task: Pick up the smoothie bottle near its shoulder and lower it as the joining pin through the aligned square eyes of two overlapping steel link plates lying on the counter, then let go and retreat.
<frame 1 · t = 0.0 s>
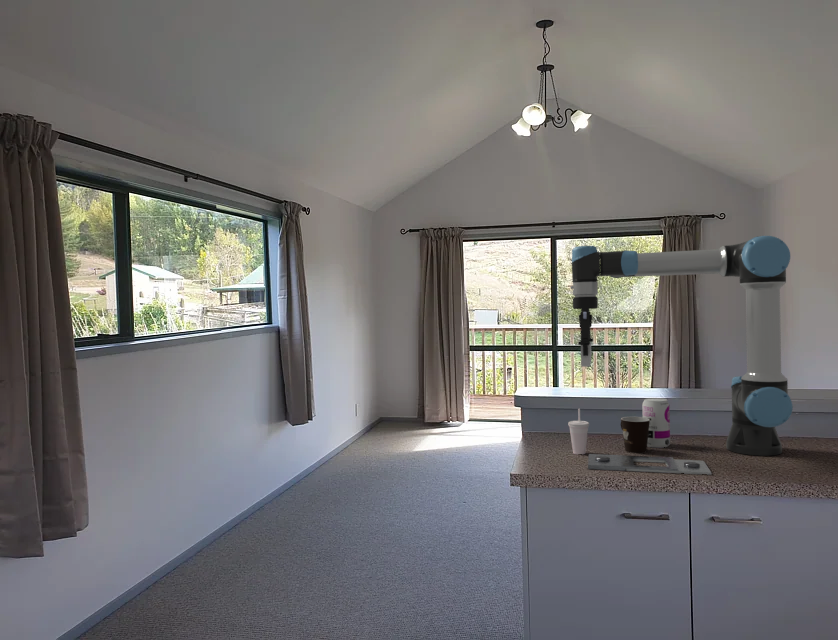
hand: (586, 364, 190), 28 cm above the counter, tool pointing down, fingers open, 13 cm apart
link plate 2: (650, 466, 174), resting in link plate 1
coffee mug: (635, 450, 194), on the counter
supplement can: (656, 446, 199), on the counter
smoothie: (579, 453, 191), on the counter
link plate 1: (650, 466, 174), on the counter
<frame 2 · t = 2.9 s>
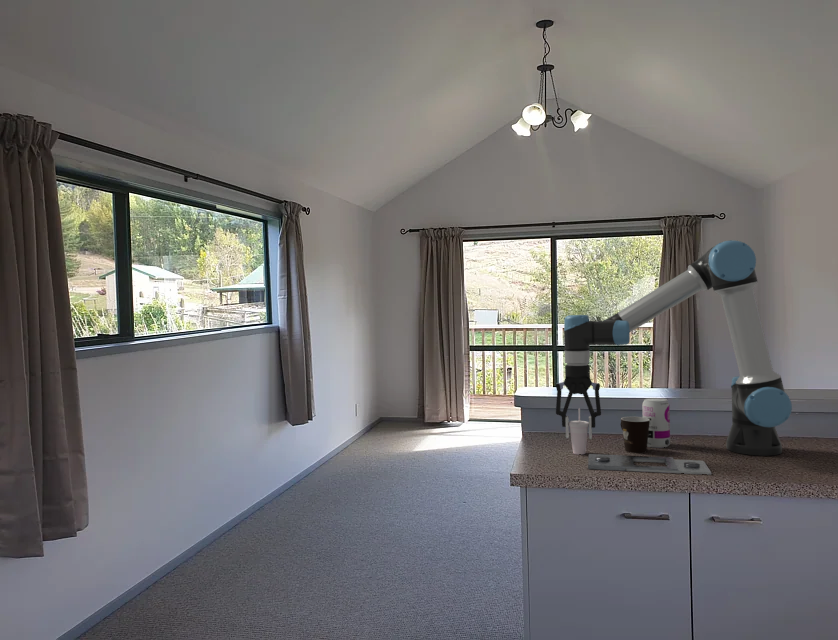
hand: (578, 437, 191), 5 cm above the counter, tool pointing down, fingers closed on smoothie, 6 cm apart
smoothie: (579, 453, 191), on the counter, touching gripper
everything else where it was.
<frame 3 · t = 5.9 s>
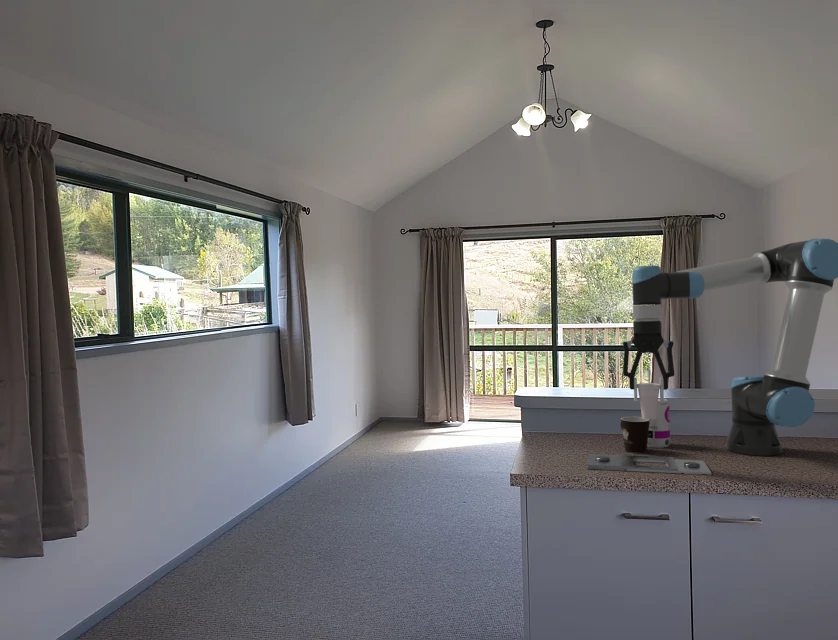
hand: (648, 400, 174), 19 cm above the counter, tool pointing down, fingers closed on smoothie, 6 cm apart
smoothie: (649, 418, 174), point 14 cm above the counter, touching gripper
everything else where it was.
when the fingers open (7 cm above the counter, at t = 8.7 s): smoothie drops 2 cm, resting in link plate 2.
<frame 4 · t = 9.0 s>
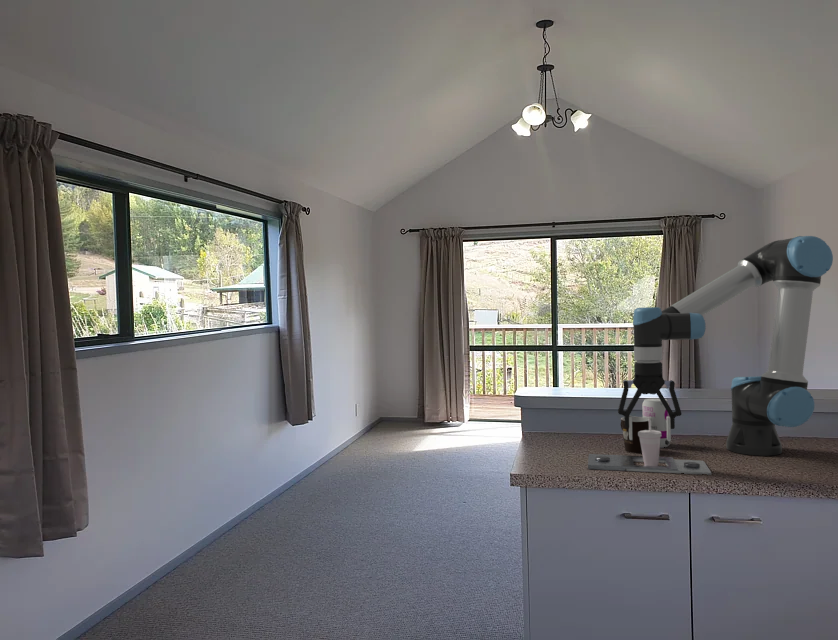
hand: (649, 439, 174), 8 cm above the counter, tool pointing down, fingers open, 9 cm apart
smoothie: (651, 466, 174), resting in link plate 2
everything else where it was.
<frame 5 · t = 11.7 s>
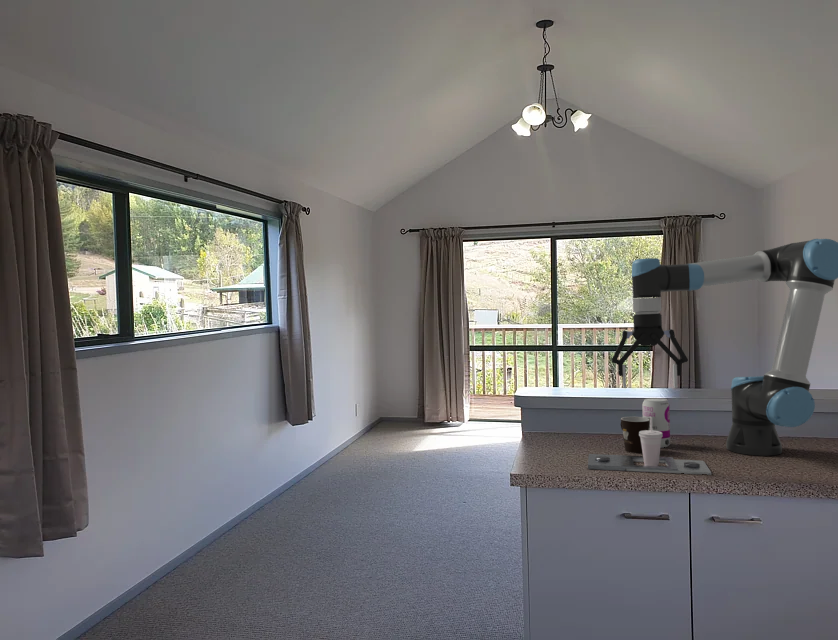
hand: (649, 387, 174), 22 cm above the counter, tool pointing down, fingers open, 13 cm apart
nothing on the counter moved.
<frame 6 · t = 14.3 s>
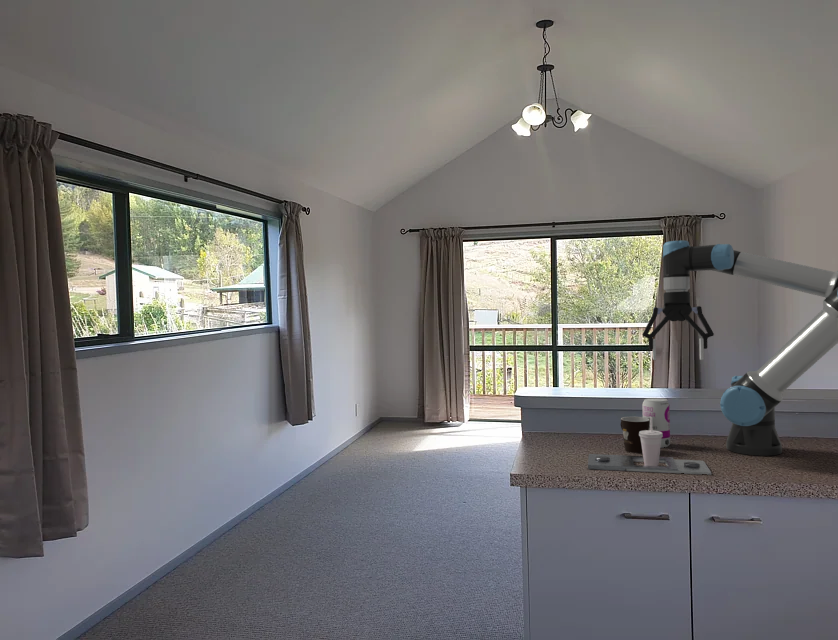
hand: (677, 359, 189), 29 cm above the counter, tool pointing down, fingers open, 13 cm apart
nothing on the counter moved.
at the end: smoothie 0.3 cm from the link plate 2 (horizontally); smoothie resting in link plate 2; smoothie tilted 0° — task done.
